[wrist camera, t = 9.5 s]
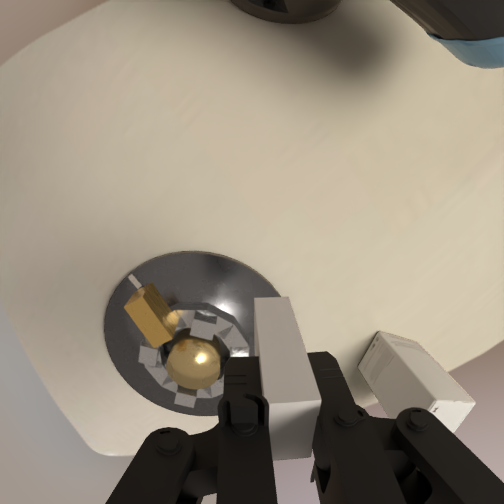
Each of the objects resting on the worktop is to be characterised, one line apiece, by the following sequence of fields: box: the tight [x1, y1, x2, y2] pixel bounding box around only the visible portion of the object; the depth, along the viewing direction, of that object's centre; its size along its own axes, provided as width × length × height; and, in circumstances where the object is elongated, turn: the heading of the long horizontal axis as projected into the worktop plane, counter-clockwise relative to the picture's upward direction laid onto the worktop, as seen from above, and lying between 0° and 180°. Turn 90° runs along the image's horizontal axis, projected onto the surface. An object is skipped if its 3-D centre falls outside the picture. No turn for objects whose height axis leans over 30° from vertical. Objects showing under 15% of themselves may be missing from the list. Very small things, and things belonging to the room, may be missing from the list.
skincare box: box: [358, 331, 476, 433], centre depth 34 cm, size 8×7×16 cm
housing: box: [104, 251, 281, 416], centre depth 36 cm, size 24×24×6 cm
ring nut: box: [124, 282, 249, 408], centre depth 34 cm, size 17×13×6 cm
